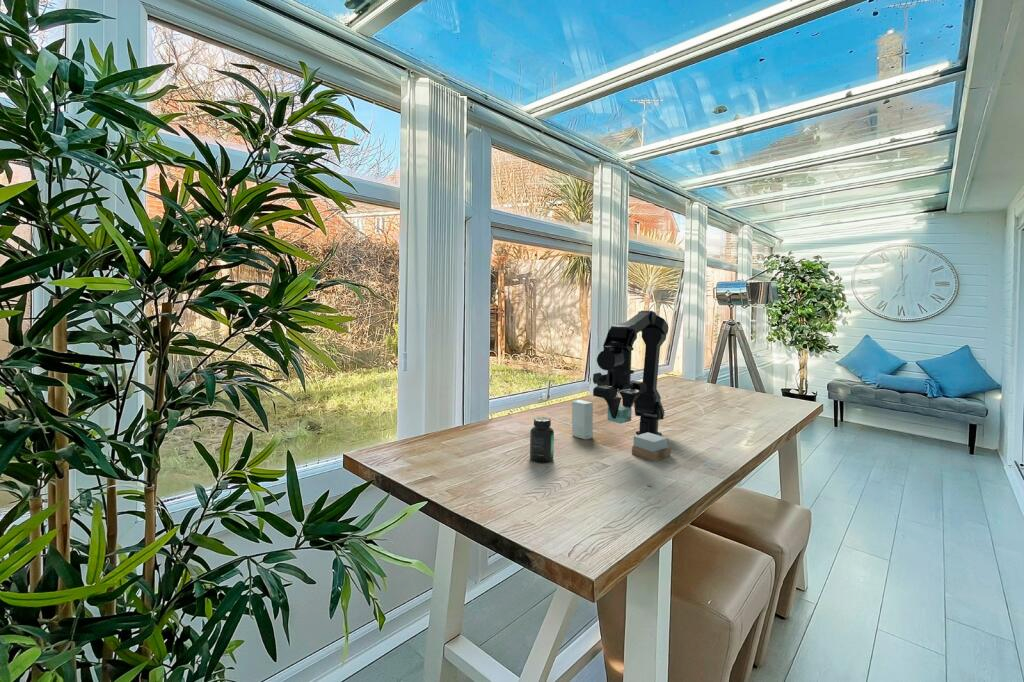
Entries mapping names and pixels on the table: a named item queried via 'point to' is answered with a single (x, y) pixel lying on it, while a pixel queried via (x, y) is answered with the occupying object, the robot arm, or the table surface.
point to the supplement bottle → (541, 441)
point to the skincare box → (582, 419)
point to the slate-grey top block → (650, 442)
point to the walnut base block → (651, 453)
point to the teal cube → (621, 415)
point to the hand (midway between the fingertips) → (619, 417)
